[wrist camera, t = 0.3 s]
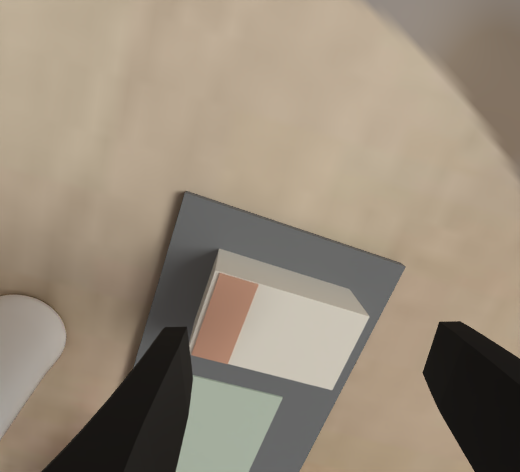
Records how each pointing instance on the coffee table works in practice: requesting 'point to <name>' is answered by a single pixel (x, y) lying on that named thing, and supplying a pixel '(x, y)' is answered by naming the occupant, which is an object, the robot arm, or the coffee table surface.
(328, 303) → the card box
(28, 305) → the white cylinder
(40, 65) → the coffee table surface
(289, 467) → the mat
